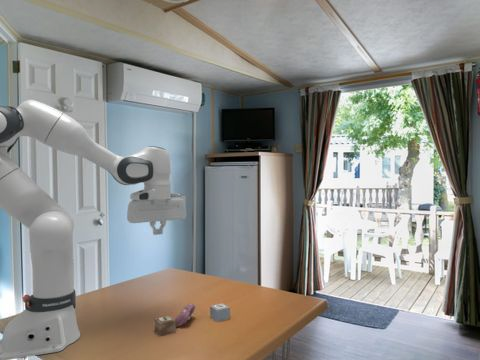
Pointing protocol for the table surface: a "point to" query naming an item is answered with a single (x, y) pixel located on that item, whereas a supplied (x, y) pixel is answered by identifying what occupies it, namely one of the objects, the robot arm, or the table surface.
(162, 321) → the walnut block
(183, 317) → the video game controller
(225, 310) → the slate grey block
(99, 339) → the table surface
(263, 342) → the table surface
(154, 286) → the table surface
